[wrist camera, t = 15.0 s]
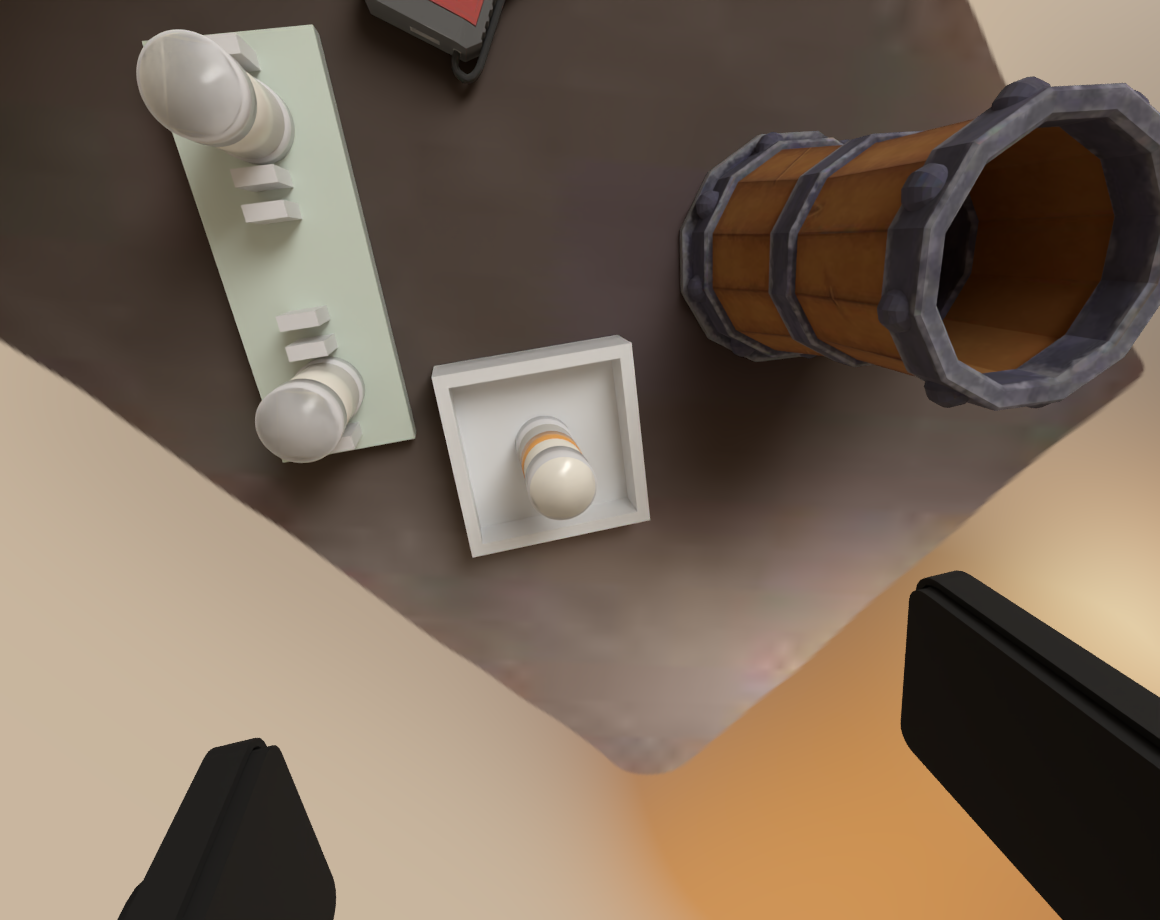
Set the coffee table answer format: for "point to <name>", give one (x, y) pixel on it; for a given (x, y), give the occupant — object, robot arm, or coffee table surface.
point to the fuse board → (300, 241)
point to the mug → (942, 246)
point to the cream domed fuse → (212, 98)
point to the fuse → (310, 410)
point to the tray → (524, 391)
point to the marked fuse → (554, 469)
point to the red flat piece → (446, 26)
